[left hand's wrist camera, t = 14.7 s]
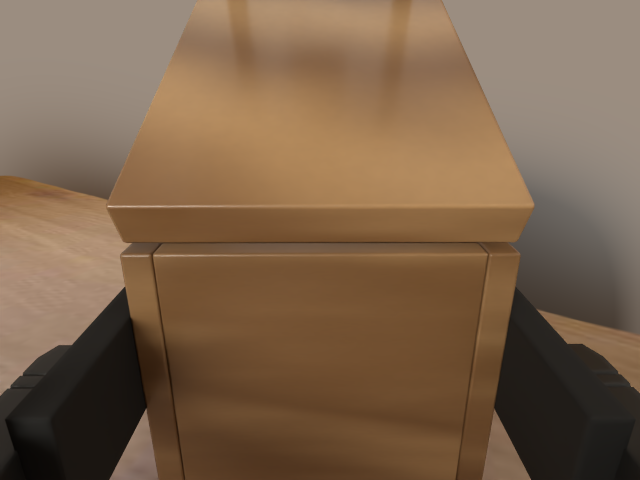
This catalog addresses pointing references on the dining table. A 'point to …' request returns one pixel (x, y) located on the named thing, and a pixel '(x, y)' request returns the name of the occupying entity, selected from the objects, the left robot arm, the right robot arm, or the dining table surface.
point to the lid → (319, 132)
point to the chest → (320, 357)
